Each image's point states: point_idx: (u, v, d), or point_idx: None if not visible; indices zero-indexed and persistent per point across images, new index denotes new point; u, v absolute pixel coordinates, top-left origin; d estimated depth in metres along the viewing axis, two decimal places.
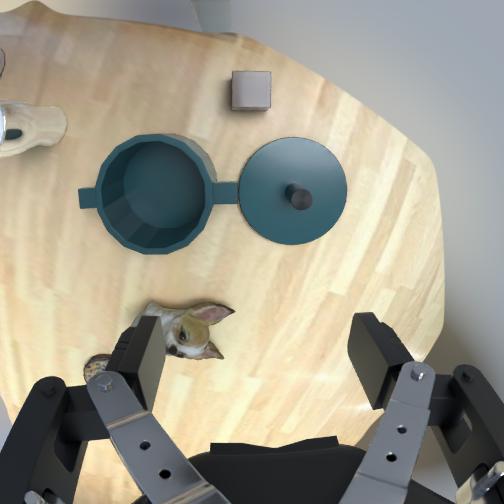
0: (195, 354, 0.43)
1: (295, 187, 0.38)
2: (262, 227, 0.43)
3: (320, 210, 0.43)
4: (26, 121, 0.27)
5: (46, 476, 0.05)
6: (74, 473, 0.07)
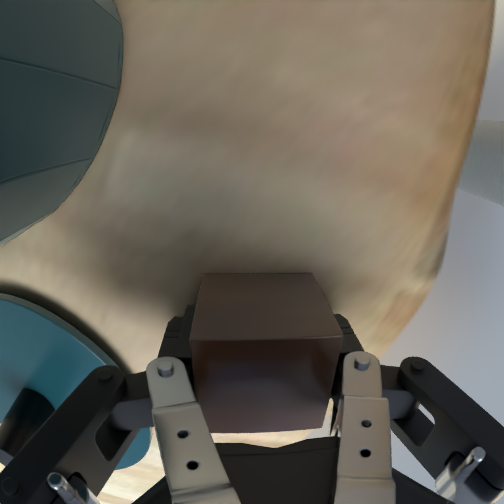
0: None
1: None
2: None
3: None
4: None
5: (79, 461, 0.06)
6: (112, 462, 0.07)
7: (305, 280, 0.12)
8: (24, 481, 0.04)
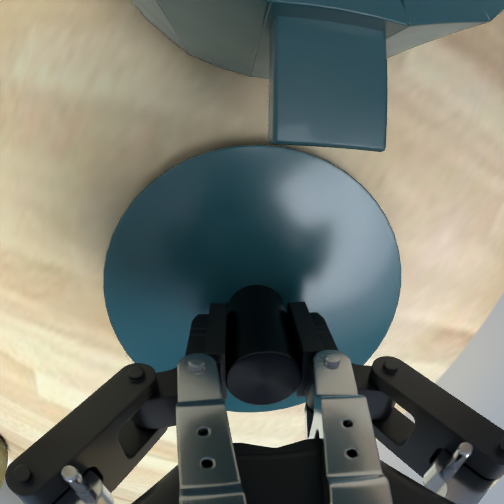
0: None
1: (292, 339, 0.12)
2: (143, 223, 0.13)
3: None
4: None
5: (98, 456, 0.06)
6: (133, 459, 0.08)
7: None
8: (37, 470, 0.05)
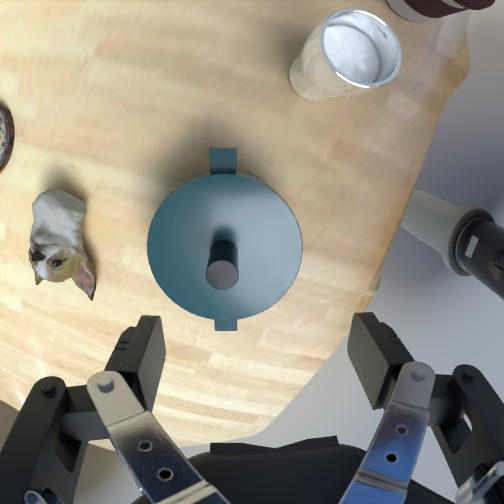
0: (38, 274, 0.32)
1: (237, 261, 0.27)
2: (169, 210, 0.28)
3: (200, 288, 0.31)
4: (348, 95, 0.23)
5: (46, 476, 0.05)
6: (74, 473, 0.07)
7: None
8: None
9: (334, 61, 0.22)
